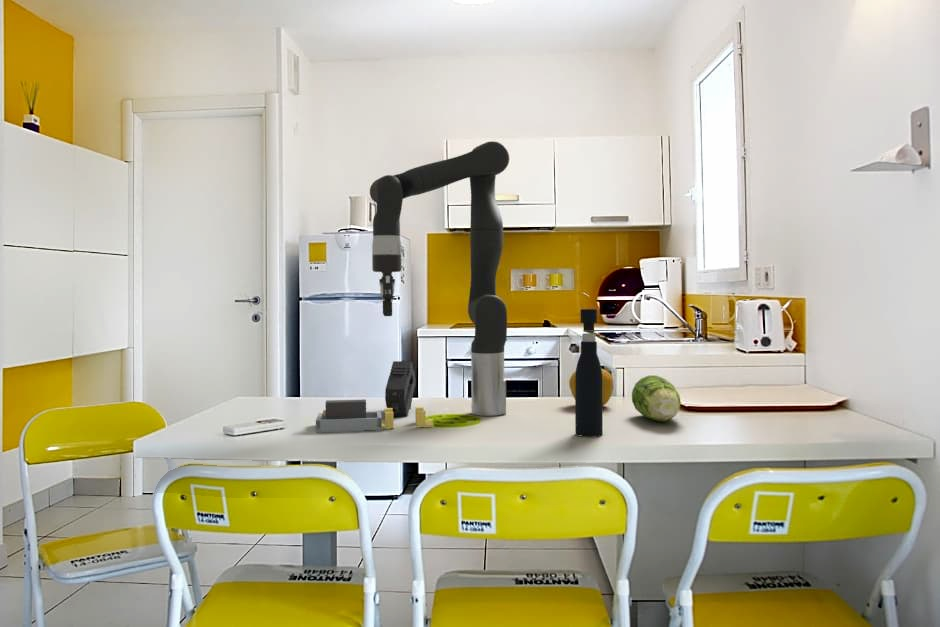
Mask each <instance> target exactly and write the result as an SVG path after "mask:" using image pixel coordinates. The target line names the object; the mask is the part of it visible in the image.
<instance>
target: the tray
mask: <svg viewBox="0 0 940 627" xmlns="http://www.w3.org/2000/svg"><path fill="white" fill-rule="evenodd" d="M364 430H376V431H383V429H382V412H381V411H379V410H378V411H366V418H353V419H326V417H323V412H321V413H320V412H319V413H317V417H316V419H315V433H316V432H319V433H340V432H341V433H342V432H347V433H349V432H365V431H364Z"/></svg>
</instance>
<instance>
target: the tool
mask: <svg viewBox="0 0 940 627" xmlns="http://www.w3.org/2000/svg"><path fill="white" fill-rule="evenodd" d="M391 364H392V365H391V369H390V372H389V374H388V378H387V379H388V380H387V382H386V387H385V392H384V393H385V394H384V399H385V407H386V408H393V417H408V416H409V412H410V410H411V409H412V408H411V407H412V402H413V397H414V392H415V388H416V373H415V369H414V365H413V361H410V360H409V361H408V360H407V361H406V360H404V359H403V360H400V361H396V360H394V361H392V363H391Z"/></svg>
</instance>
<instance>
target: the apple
mask: <svg viewBox="0 0 940 627" xmlns="http://www.w3.org/2000/svg"><path fill="white" fill-rule="evenodd" d="M601 369H602V407H604V406H605V405H607V403H608V402H609V401H610V399H611V398H612V395H613V390H614V378H613V376H612V374H611V373H610V372H608V371H607V370H606V369H604V368H601ZM575 373H576V370H575V371H574V372H573V373H572V374H571V376H570V378H569V381H568V383H569V390H570V392H571V394H572V397H573V399H574V400H575Z"/></svg>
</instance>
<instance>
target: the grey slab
mask: <svg viewBox="0 0 940 627" xmlns="http://www.w3.org/2000/svg"><path fill="white" fill-rule="evenodd" d="M366 412H367V398H366V399H363V398H362V399H332V400H331V399H330V400H325V409H324V410H322V413H323V417H326V419H353V418H366Z"/></svg>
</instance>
